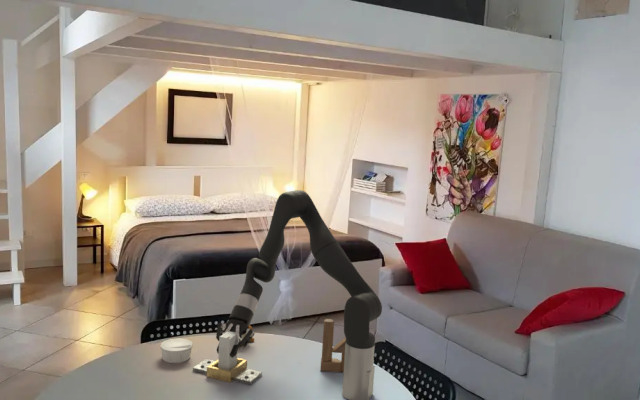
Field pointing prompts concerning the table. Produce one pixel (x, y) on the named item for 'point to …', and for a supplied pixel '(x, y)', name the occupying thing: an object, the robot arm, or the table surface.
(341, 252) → the robot arm
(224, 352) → the skincare box
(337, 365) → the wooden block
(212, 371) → the square socket fixture
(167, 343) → the ramekin
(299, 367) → the table surface
